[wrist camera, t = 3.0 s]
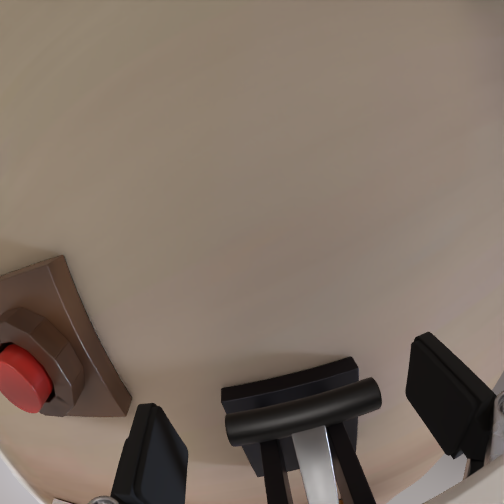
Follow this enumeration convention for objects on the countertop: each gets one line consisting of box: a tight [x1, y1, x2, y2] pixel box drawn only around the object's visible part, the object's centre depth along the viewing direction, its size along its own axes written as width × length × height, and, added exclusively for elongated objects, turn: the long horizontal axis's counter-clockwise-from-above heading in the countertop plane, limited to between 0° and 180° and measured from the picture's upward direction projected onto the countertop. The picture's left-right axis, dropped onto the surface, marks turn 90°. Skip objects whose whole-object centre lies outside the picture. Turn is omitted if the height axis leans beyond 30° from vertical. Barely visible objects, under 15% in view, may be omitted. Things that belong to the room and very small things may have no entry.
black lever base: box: [221, 357, 376, 504], centre depth 11 cm, size 10×8×13 cm
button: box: [0, 344, 53, 413], centre depth 11 cm, size 4×4×2 cm
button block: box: [0, 255, 132, 417], centre depth 13 cm, size 10×8×4 cm
